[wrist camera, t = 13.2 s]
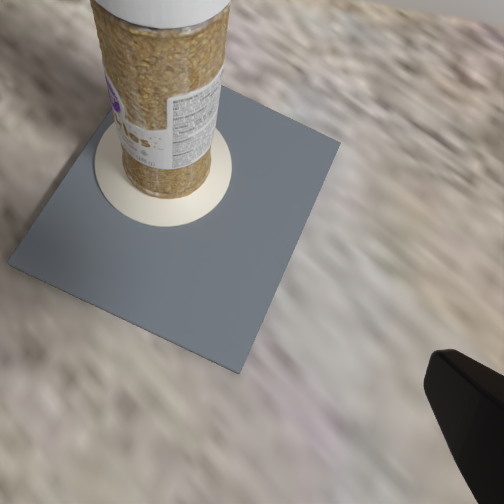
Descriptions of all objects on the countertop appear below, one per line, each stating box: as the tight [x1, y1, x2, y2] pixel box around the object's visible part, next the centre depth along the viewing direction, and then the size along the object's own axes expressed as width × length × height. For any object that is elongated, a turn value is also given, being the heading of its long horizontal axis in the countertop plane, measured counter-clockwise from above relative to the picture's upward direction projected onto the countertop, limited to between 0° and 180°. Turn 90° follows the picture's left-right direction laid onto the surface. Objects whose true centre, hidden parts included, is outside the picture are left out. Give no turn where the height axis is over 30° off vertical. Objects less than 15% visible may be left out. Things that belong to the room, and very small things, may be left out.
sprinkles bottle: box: [90, 0, 232, 199], centre depth 17 cm, size 5×5×14 cm
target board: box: [7, 85, 340, 374], centre depth 24 cm, size 14×12×1 cm
